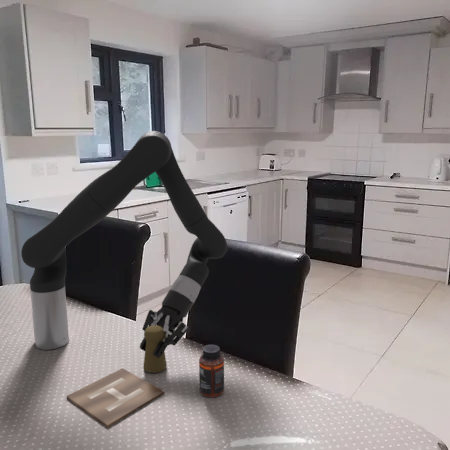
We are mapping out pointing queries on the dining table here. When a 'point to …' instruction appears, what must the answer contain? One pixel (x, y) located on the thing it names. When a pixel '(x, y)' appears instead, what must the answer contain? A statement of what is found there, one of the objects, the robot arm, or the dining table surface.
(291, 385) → the dining table surface
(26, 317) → the dining table surface
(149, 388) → the board
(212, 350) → the supplement bottle
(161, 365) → the olive pawn figure
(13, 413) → the dining table surface
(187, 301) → the robot arm
